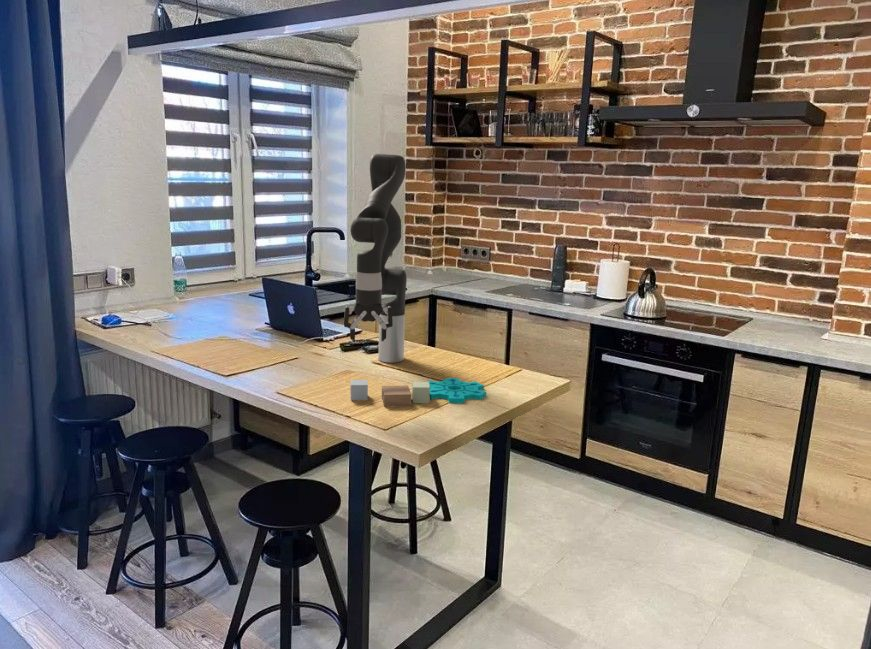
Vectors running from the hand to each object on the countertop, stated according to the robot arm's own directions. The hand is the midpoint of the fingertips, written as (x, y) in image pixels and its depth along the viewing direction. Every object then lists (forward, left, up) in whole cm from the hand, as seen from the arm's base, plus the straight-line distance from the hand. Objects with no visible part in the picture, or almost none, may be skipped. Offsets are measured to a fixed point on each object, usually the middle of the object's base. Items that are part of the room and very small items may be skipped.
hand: (368, 340), depth 194 cm
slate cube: (-1, -2, -18) cm, 18 cm away
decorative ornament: (-5, +28, -19) cm, 34 cm away
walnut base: (+3, +9, -18) cm, 21 cm away
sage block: (+2, +19, -16) cm, 24 cm away
